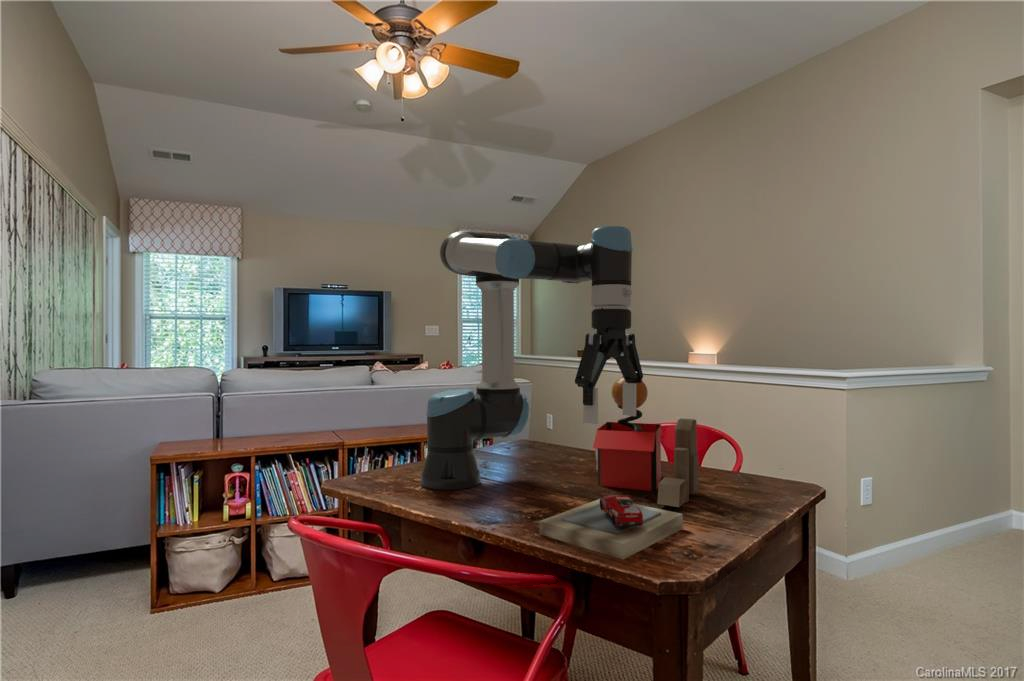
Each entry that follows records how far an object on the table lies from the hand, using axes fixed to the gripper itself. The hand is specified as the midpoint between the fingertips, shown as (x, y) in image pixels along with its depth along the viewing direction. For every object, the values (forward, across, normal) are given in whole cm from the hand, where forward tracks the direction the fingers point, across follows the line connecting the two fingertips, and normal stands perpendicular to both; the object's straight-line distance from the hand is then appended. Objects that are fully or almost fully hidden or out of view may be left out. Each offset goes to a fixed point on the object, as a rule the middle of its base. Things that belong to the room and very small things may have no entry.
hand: (610, 419), depth 109 cm
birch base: (+22, 0, 0) cm, 22 cm away
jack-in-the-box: (+22, +37, +18) cm, 46 cm away
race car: (+20, 0, 0) cm, 20 cm away
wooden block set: (+22, +29, 0) cm, 36 cm away
